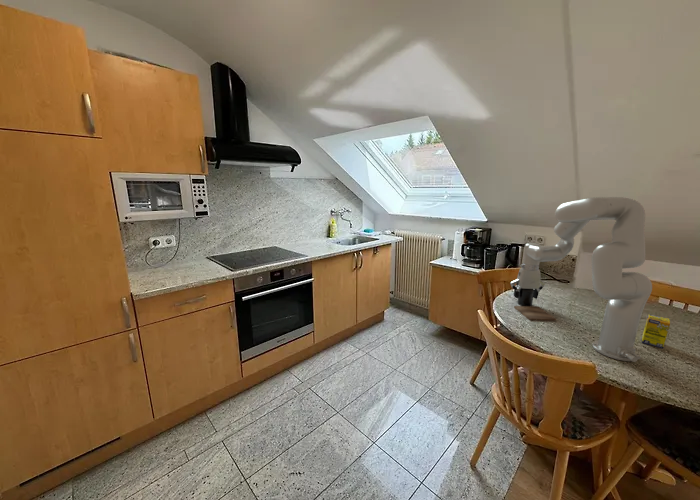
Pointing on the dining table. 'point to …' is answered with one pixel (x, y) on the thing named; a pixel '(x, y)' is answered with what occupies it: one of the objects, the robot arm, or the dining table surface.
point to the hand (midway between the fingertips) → (525, 297)
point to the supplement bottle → (525, 297)
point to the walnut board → (534, 313)
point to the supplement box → (655, 331)
